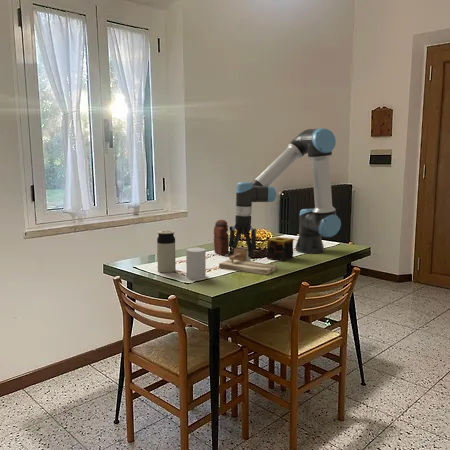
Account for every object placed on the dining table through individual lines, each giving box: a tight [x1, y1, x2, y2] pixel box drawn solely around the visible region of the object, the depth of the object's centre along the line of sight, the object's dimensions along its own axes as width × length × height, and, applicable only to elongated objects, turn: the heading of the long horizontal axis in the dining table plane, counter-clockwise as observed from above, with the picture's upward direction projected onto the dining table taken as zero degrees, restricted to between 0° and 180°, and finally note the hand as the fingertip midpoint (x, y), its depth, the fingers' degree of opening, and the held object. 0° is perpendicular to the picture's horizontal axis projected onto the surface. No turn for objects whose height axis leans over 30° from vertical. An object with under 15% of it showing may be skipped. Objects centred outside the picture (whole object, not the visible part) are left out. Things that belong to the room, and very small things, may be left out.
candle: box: [266, 236, 294, 262], centre depth 229 cm, size 10×10×10 cm
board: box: [218, 259, 278, 276], centre depth 209 cm, size 11×24×2 cm, turn 61°
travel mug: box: [156, 229, 177, 274], centre depth 204 cm, size 8×8×18 cm
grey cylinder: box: [185, 247, 207, 281], centre depth 194 cm, size 8×8×12 cm
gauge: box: [228, 246, 248, 263], centre depth 216 cm, size 14×6×7 cm, turn 150°
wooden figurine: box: [213, 219, 230, 257], centre depth 239 cm, size 12×6×18 cm, turn 25°
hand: (241, 262), depth 219 cm, fingers closed on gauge, 6 cm apart
